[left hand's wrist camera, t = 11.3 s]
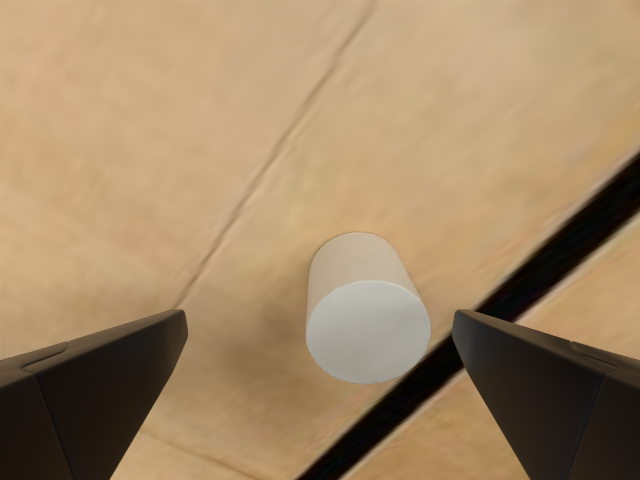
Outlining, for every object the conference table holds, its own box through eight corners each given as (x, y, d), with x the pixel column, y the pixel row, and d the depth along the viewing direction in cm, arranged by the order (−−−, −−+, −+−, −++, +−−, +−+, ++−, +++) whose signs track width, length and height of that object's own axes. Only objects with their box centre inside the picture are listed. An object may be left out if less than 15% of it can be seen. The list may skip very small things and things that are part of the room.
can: (397, 223, 17) (426, 270, 12) (407, 306, 19) (436, 375, 14) (300, 241, 17) (293, 293, 12) (319, 321, 19) (319, 393, 14)
